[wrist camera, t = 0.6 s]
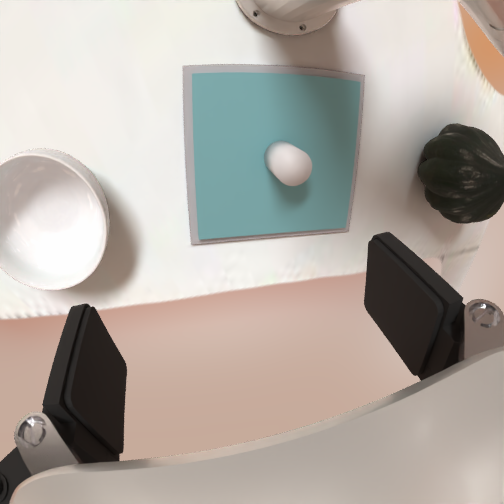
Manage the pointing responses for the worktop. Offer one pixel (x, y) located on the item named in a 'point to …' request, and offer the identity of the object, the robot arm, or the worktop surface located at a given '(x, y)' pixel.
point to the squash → (463, 174)
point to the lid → (272, 152)
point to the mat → (190, 148)
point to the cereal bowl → (50, 219)
